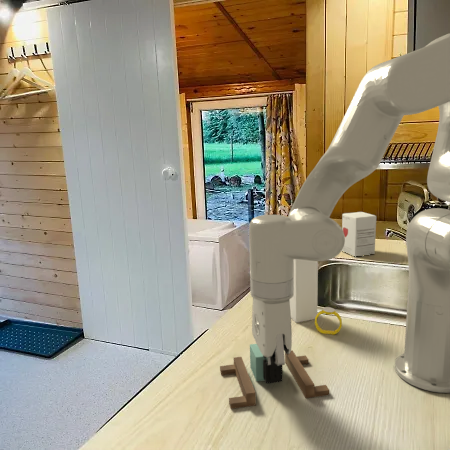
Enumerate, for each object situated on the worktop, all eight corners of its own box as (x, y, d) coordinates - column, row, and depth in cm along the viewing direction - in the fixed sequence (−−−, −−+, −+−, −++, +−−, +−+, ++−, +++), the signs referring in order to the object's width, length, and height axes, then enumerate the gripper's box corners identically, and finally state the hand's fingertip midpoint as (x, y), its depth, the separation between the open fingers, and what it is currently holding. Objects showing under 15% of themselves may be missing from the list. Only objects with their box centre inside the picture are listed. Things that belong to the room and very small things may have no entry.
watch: (340, 332, 97) (343, 309, 95) (340, 338, 94) (342, 314, 93) (314, 328, 99) (317, 305, 97) (313, 333, 96) (315, 309, 95)
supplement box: (340, 251, 160) (341, 213, 156) (360, 248, 162) (361, 211, 159) (354, 257, 151) (356, 217, 148) (375, 254, 154) (377, 215, 151)
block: (274, 364, 84) (274, 341, 83) (281, 377, 79) (281, 354, 78) (250, 367, 83) (249, 344, 82) (256, 381, 79) (255, 357, 77)
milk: (317, 319, 104) (319, 233, 99) (295, 323, 102) (296, 236, 97) (305, 309, 109) (306, 228, 104) (284, 313, 107) (284, 230, 103)
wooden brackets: (305, 359, 85) (305, 348, 85) (329, 395, 74) (329, 382, 73) (220, 370, 83) (219, 359, 82) (230, 408, 71) (230, 395, 70)
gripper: (241, 274, 79) (244, 361, 83) (261, 305, 65) (263, 409, 69) (279, 270, 80) (280, 357, 84) (307, 300, 66) (306, 402, 70)
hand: (272, 380), depth 76 cm, fingers closed
